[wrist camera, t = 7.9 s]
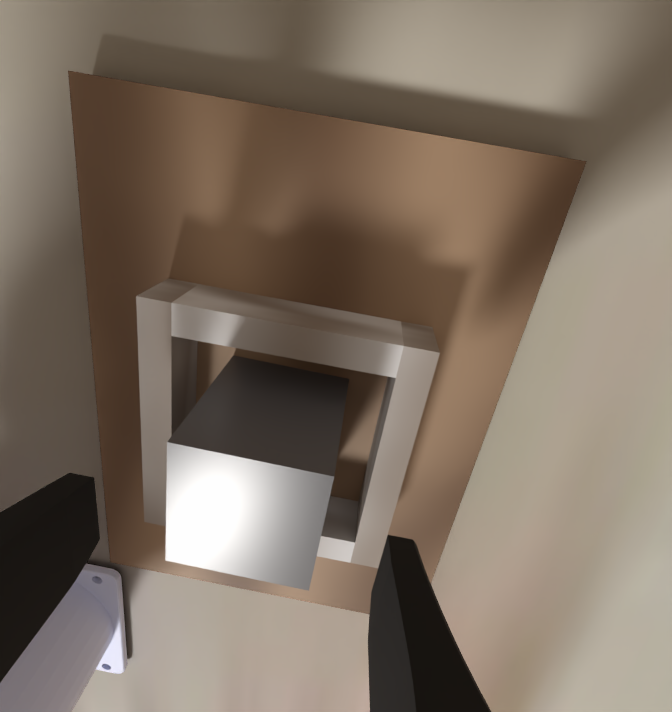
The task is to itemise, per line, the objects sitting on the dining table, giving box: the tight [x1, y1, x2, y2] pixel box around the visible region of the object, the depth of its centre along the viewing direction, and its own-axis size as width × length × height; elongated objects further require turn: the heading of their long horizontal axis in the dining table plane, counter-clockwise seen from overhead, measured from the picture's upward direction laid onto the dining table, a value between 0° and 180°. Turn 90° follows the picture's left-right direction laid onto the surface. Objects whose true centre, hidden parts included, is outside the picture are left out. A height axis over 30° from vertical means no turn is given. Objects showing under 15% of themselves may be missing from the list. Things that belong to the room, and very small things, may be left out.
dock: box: [68, 71, 586, 614], centre depth 15 cm, size 14×19×3 cm
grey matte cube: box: [165, 355, 349, 591], centre depth 13 cm, size 4×4×5 cm
